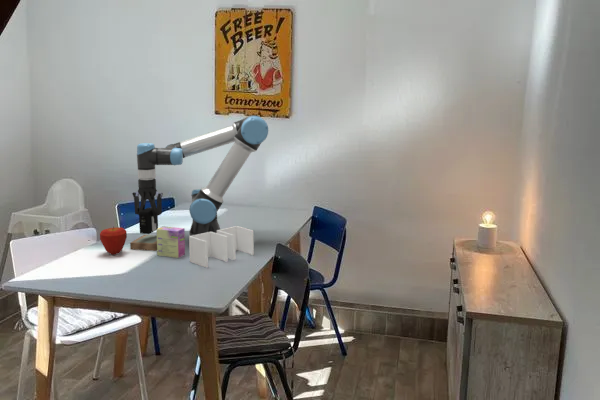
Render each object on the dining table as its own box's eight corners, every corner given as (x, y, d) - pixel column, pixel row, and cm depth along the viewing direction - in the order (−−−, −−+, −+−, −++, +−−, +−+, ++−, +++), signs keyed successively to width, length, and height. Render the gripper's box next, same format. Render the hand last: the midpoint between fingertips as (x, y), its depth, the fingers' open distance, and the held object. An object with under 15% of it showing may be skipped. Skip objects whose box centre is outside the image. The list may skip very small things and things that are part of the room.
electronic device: (139, 233, 256) (138, 211, 254) (149, 228, 266) (148, 207, 264) (148, 234, 255) (147, 212, 253) (158, 229, 265) (157, 207, 263)
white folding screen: (237, 250, 256) (237, 226, 254) (253, 255, 249) (253, 230, 246) (189, 262, 239) (189, 236, 237) (205, 268, 231) (204, 241, 229)
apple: (120, 248, 257) (118, 222, 255) (132, 253, 249) (131, 226, 247) (96, 253, 249) (94, 226, 247) (108, 259, 242) (106, 230, 239)
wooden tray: (168, 242, 267) (168, 235, 267) (156, 250, 254) (155, 243, 253) (144, 241, 269) (144, 234, 269) (130, 249, 256) (130, 242, 255)
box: (185, 254, 249) (184, 227, 246) (178, 258, 243) (177, 230, 241) (164, 252, 252) (163, 225, 250) (157, 255, 247) (155, 228, 244)
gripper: (168, 177, 258) (170, 229, 262) (132, 176, 261) (134, 227, 265) (161, 180, 250) (163, 233, 255) (124, 179, 253) (127, 231, 258)
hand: (149, 229), depth 260 cm, fingers closed on electronic device, 4 cm apart
